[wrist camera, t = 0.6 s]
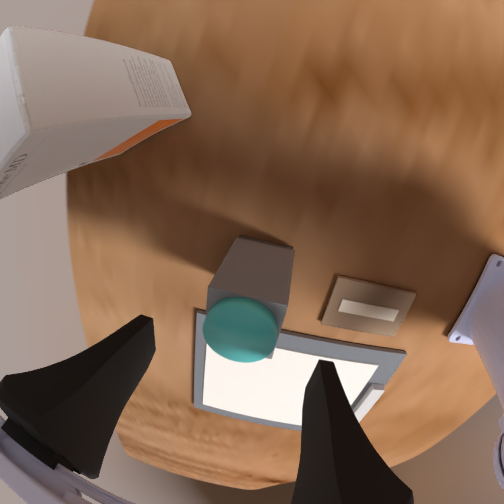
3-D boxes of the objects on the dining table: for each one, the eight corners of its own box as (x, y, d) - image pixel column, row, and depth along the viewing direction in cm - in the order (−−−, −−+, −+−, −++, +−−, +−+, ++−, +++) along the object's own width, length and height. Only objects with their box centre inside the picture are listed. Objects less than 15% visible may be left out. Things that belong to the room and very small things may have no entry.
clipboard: (405, 351, 20) (408, 360, 19) (343, 432, 26) (343, 440, 25) (198, 309, 21) (193, 318, 20) (194, 404, 28) (191, 412, 27)
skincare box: (120, 156, 17) (-34, 219, 7) (101, 103, 16) (-56, 129, 5) (197, 116, 15) (27, 136, 5) (173, 57, 14) (6, 19, 3)
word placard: (415, 292, 18) (417, 295, 17) (393, 334, 19) (394, 338, 19) (337, 275, 18) (338, 278, 18) (320, 321, 20) (320, 325, 20)
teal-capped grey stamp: (294, 246, 18) (286, 316, 12) (282, 293, 20) (269, 370, 13) (238, 233, 18) (202, 296, 12) (231, 281, 20) (198, 353, 14)
